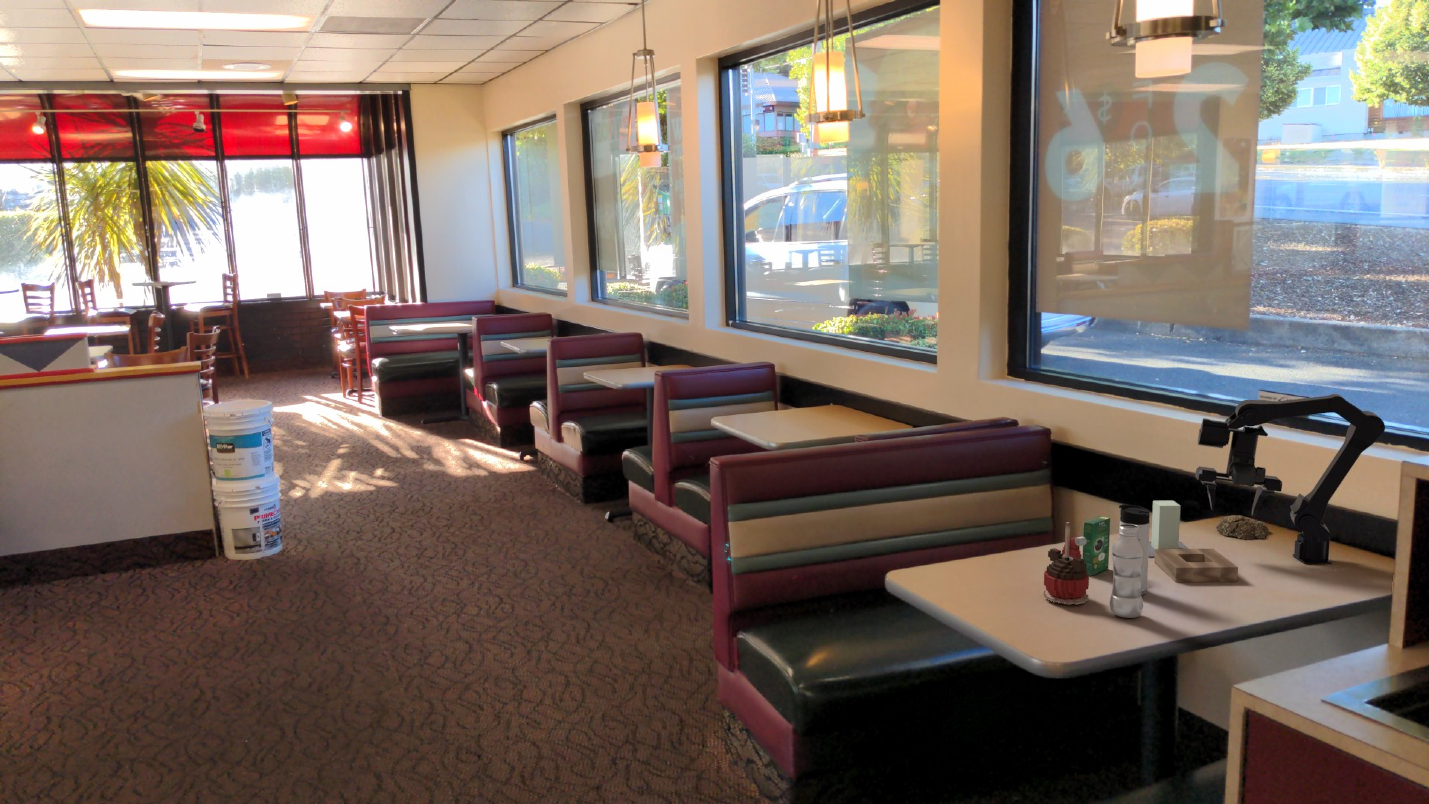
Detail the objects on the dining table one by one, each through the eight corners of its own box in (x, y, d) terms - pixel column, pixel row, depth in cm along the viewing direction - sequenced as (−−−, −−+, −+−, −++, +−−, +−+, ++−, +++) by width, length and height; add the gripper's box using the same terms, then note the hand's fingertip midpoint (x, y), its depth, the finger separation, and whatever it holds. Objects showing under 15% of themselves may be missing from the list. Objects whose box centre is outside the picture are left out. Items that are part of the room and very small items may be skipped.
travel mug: (1123, 584, 240) (1126, 501, 237) (1151, 591, 236) (1154, 506, 232) (1111, 591, 236) (1114, 507, 233) (1139, 598, 231) (1143, 512, 228)
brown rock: (1220, 524, 285) (1221, 507, 284) (1270, 531, 278) (1272, 513, 277) (1211, 536, 275) (1212, 518, 274) (1263, 543, 268) (1264, 525, 267)
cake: (1033, 595, 235) (1034, 519, 232) (1065, 589, 239) (1067, 514, 236) (1066, 611, 225) (1068, 531, 222) (1099, 603, 229) (1101, 525, 226)
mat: (1179, 542, 269) (1179, 541, 269) (1198, 557, 258) (1198, 555, 258) (1132, 543, 270) (1132, 541, 270) (1148, 557, 258) (1148, 556, 258)
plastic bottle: (1145, 622, 218) (1149, 531, 214) (1111, 620, 219) (1114, 530, 216) (1139, 611, 224) (1143, 522, 221) (1106, 609, 225) (1109, 521, 222)
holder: (1212, 562, 254) (1213, 548, 253) (1237, 581, 240) (1238, 567, 239) (1154, 562, 255) (1154, 549, 254) (1175, 582, 241) (1176, 567, 240)
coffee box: (1098, 566, 253) (1100, 514, 251) (1109, 569, 251) (1111, 516, 249) (1080, 573, 248) (1082, 521, 246) (1091, 576, 246) (1093, 523, 244)
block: (1171, 545, 266) (1173, 500, 264) (1178, 551, 261) (1180, 505, 259) (1151, 545, 267) (1153, 500, 265) (1158, 551, 262) (1159, 505, 260)
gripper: (1206, 451, 249) (1196, 513, 252) (1292, 462, 244) (1281, 525, 246) (1199, 444, 260) (1190, 504, 262) (1281, 454, 255) (1271, 515, 257)
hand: (1232, 512), depth 257 cm, fingers open, 9 cm apart
